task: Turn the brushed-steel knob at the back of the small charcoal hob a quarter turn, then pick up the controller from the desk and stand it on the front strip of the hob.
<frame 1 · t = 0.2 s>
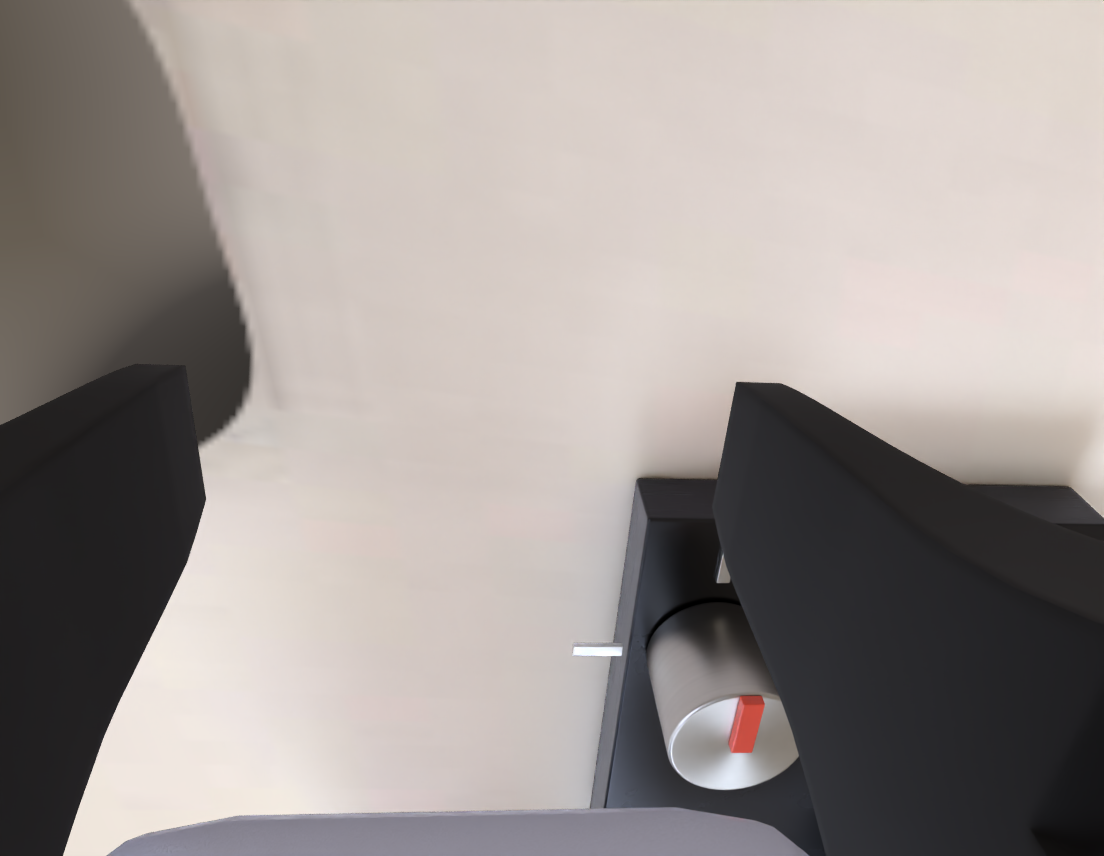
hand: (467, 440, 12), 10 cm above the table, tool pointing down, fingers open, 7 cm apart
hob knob: (723, 697, 23), point 4 cm above the table, hinge at 0.0°
hob: (803, 671, 28), on the table
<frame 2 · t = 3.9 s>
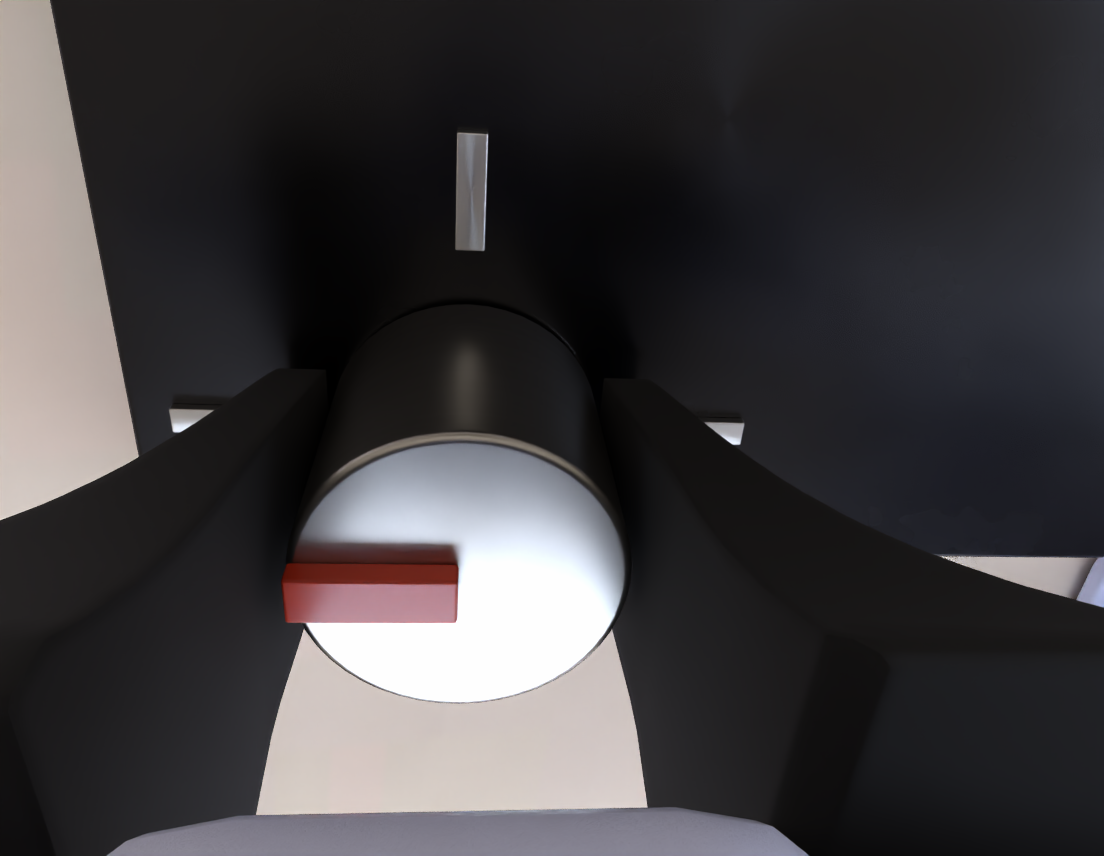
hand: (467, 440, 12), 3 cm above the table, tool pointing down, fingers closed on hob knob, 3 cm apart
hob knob: (464, 499, 10), point 4 cm above the table, hinge at -0.1°, touching gripper
hob: (691, 91, 12), on the table
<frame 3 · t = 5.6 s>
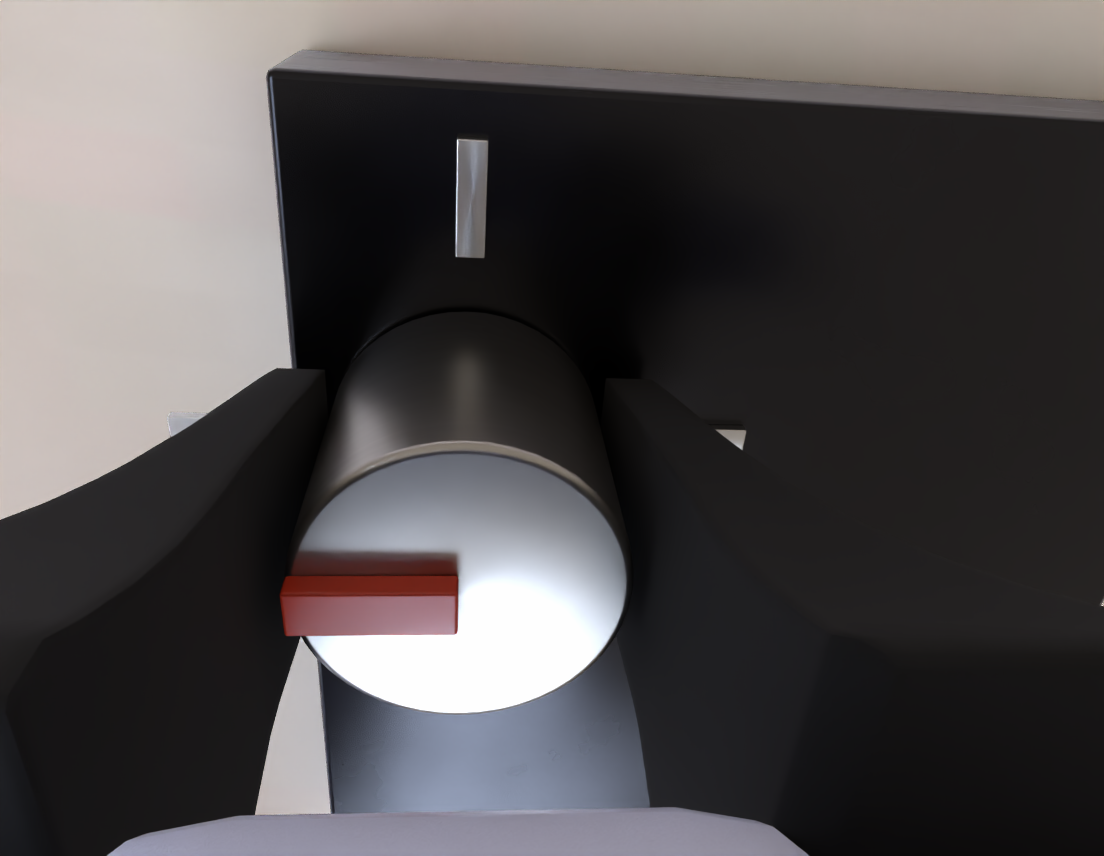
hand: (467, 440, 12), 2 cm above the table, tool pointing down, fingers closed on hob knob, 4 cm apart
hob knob: (464, 509, 10), point 4 cm above the table, hinge at 90.6°, touching gripper
hob: (699, 525, 15), on the table
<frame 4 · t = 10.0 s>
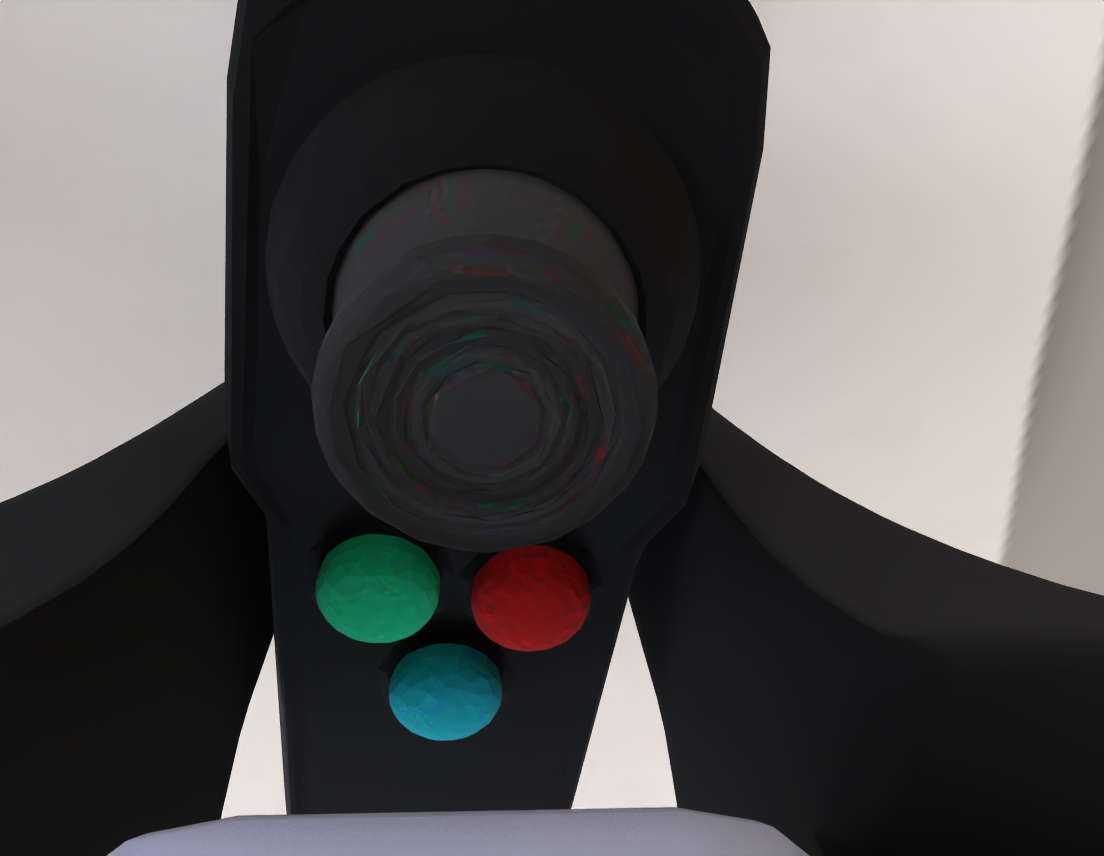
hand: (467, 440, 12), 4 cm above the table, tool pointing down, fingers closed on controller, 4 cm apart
controller: (468, 310, 16), on the table, touching gripper
when the fingers open (6 cm above the table, at t = 14.0 s): controller stays where it is, resting on hob.
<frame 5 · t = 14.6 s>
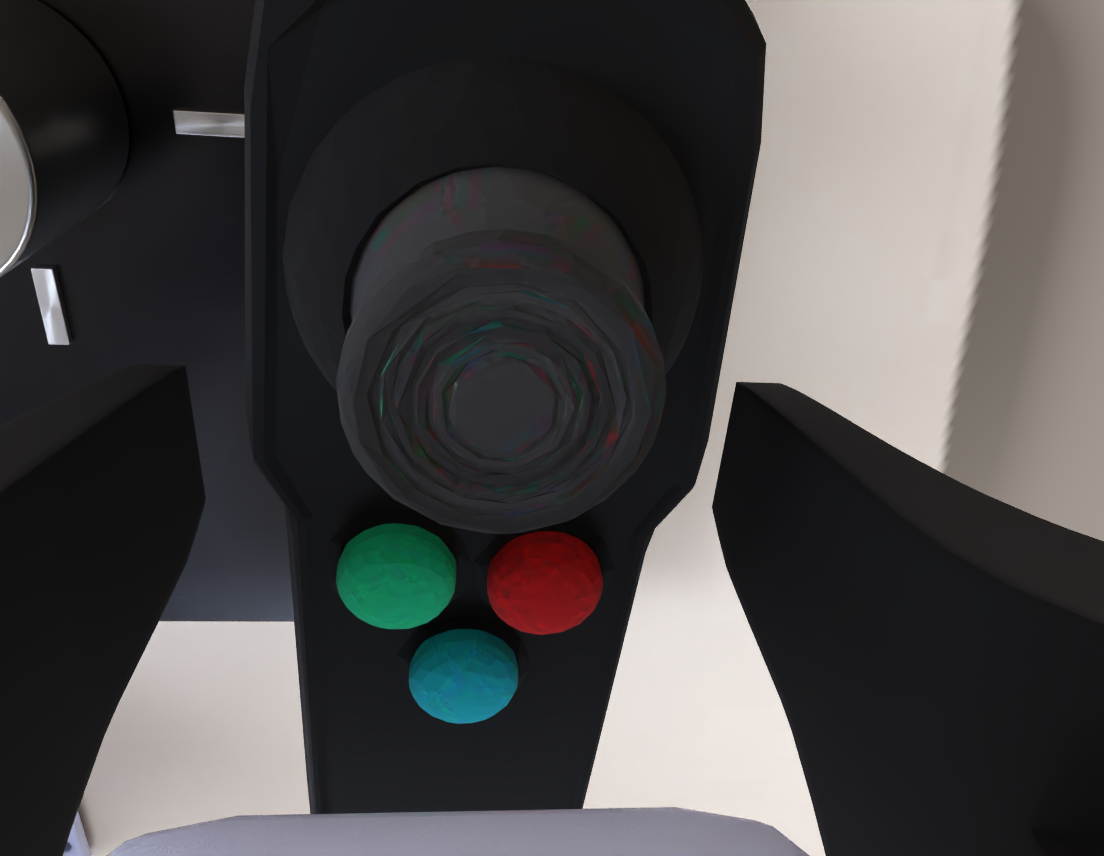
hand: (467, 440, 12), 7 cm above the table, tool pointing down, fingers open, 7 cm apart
controller: (473, 306, 16), point 2 cm above the table, touching hob
hob: (319, 265, 17), on the table
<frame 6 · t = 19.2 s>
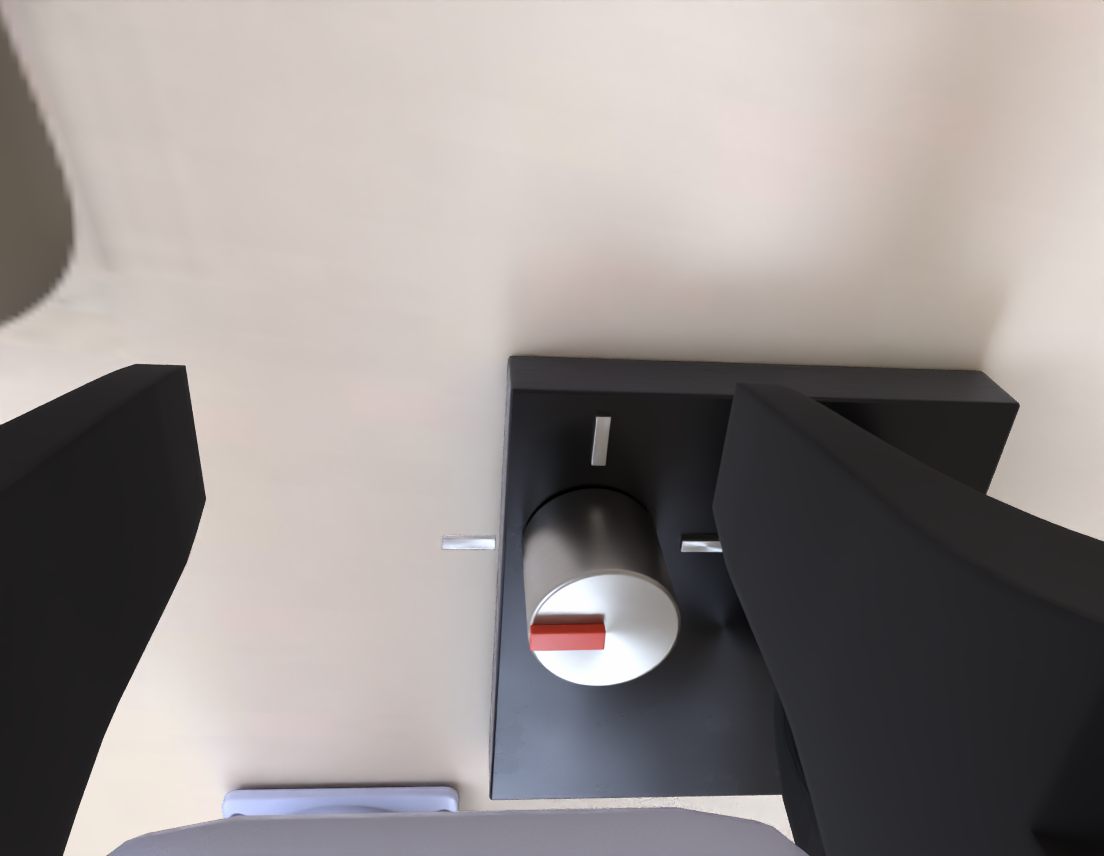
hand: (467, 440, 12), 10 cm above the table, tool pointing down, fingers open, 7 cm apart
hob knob: (597, 588, 21), point 4 cm above the table, hinge at 91.3°
controller: (822, 623, 25), point 2 cm above the table, touching hob
hob: (707, 582, 27), on the table
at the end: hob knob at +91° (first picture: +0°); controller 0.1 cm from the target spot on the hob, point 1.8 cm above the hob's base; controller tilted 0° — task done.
